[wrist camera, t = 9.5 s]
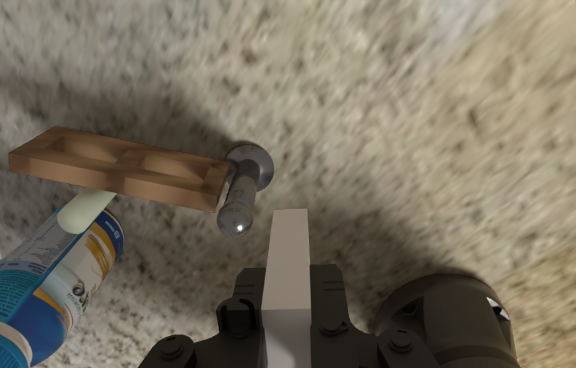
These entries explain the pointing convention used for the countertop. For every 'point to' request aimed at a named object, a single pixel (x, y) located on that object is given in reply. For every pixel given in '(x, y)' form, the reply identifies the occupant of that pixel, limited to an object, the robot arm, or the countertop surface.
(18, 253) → the beverage bottle
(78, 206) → the post
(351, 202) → the countertop surface
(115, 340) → the countertop surface
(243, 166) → the hinge post
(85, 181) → the gate
